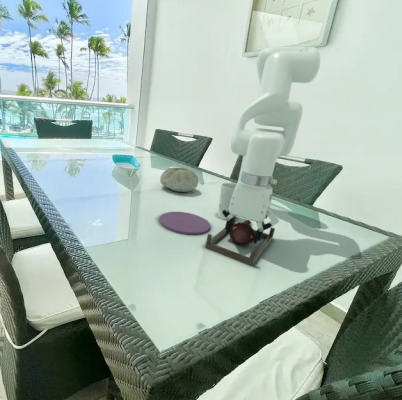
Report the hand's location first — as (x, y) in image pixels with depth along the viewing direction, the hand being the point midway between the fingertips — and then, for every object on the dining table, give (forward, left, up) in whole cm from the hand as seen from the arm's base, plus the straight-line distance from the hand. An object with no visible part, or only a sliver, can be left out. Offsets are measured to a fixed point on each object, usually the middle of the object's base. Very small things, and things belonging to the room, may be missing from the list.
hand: (241, 236), depth 81 cm
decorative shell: (-34, -41, -3) cm, 53 cm away
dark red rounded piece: (0, 0, -3) cm, 3 cm away
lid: (0, -19, -2) cm, 19 cm away
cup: (-18, -11, -3) cm, 21 cm away
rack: (0, 0, -2) cm, 2 cm away
